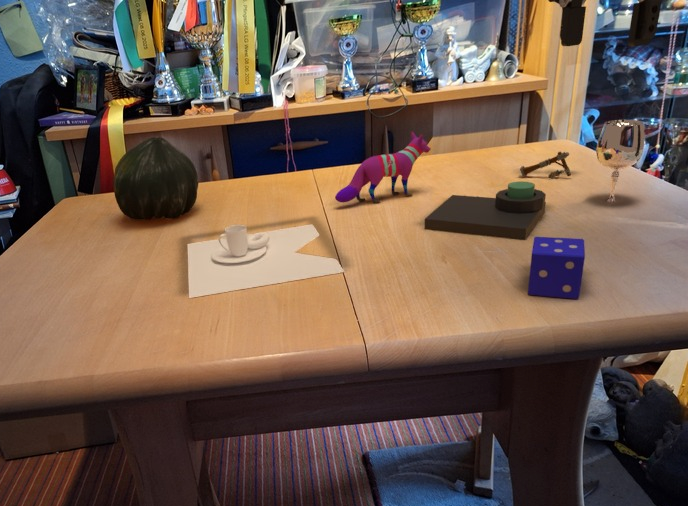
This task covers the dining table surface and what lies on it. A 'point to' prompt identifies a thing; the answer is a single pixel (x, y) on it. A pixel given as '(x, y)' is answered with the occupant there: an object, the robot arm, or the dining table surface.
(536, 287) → the die
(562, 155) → the wooden post with brackets
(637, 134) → the wineglass
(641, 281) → the dining table surface
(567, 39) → the robot arm
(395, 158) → the striped fox figurine
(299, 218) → the dining table surface
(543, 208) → the scale
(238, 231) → the teacup and saucer
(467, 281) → the dining table surface
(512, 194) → the tare button
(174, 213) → the squash
